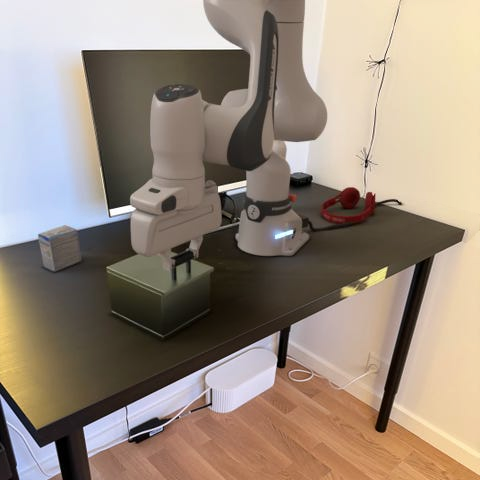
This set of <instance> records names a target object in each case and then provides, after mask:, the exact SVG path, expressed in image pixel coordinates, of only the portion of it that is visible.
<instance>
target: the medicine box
mask: <svg viewBox="0 0 480 480" xmlns="http://www.w3.org/2000/svg"><path fill="white" fill-rule="evenodd" d="M37 237H38V243H39V249H40V252H41V259H42V264H43V267H44V268H45V269H47V270H49V271H52V272H54V273H55V272H59V271H61V270H63V269H65V268H68V267H70V266H73V265H75V264H78V263H80V262H82V255H81V250H80V241H79V234H78V229H76V228H74V227H72V226H70V225H66V224H65V225H61V226H58V227H54V228H51V229H49V230H46V231H43V232H40V233H38V234H37Z"/></svg>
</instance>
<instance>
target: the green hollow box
mask: <svg viewBox="0 0 480 480" xmlns="http://www.w3.org/2000/svg"><path fill="white" fill-rule="evenodd" d="M106 277H107V286H108V293H109V295H108V296H109V303H110V311H111V316H114V317H115V318H118V319H120V320H122V321H123V322H126V323H127V324H130V325H132V326H133V327H136V328H137V329H140V330H142V331H143V332H146V333H147V334H149V335H151V336H153V337H155V338H158V339H160V340H161V341H165V340H167V339H169V338H170V337H172V336H173V335H175V334H177V333H179V332H181V331H182V330H183V329H185V328H187V327H189V326H190V325H192V324H193V323H195V322H197V321H199V320H200V319H202V318H203V317H205V316H207V315H208V314H210V313H211V273H209V274H207V275H205V276H203V277H201V278H199V279H197V280H195V281H193V282H191V283H189V284H187V285H185V286H184V287H182V288H180V289H178V290H176V291H174V292H172V293H170V294H168V295H166V296H163V295H161V294H159V293H156V292H154V291H152V290H149V289H147V288H145V287H143V286H140V285H138V284H136V283H134V282H131V281H129V280H127V279H124V278H122V277H120V276H118V275H115V274H113V273H111V272H109V271H107V270H106Z"/></svg>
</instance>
